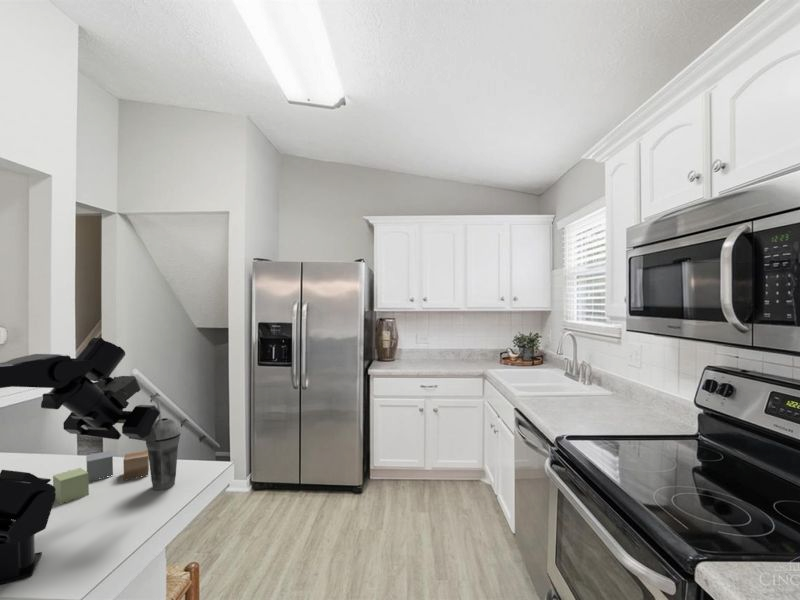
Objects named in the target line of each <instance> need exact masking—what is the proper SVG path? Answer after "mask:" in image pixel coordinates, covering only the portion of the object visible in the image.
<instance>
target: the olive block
mask: <svg viewBox="0 0 800 600" xmlns="http://www.w3.org/2000/svg"><path fill="white" fill-rule="evenodd" d="M89 484H90V482H89V478H88V472H87V470H85V469H84V468H82V467H79V468H75V469H70V470H67V471H64V472H60V473H57V474H52V485H53V486H54V487H55V488H56V491H55V493H56V497H55V501H57V502H58V503H59V504H60V503H62V504H65V503H67V501H68V502H71V501H74V500H77V499H80V498H83V497H86V496H89V495H90V491H89V490H90V489H89V488H90V486H89ZM73 499H74V500H73ZM70 500H71V501H70ZM64 502H65V503H64Z"/></svg>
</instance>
